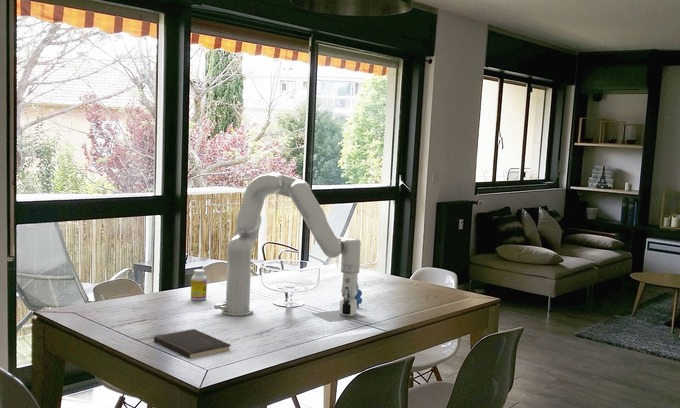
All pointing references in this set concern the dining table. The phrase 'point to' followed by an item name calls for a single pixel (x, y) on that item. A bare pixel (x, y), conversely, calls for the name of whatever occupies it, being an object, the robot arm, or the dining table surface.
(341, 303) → the cap
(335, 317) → the board
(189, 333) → the hardcover book
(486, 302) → the dining table surface
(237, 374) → the dining table surface
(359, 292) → the grapes
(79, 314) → the dining table surface
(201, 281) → the supplement bottle
